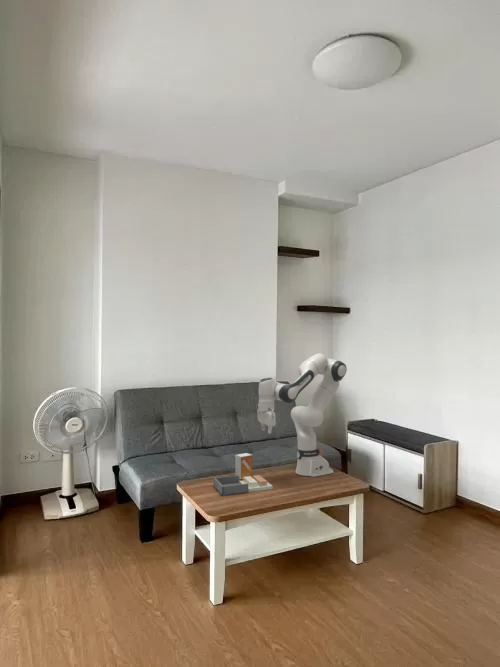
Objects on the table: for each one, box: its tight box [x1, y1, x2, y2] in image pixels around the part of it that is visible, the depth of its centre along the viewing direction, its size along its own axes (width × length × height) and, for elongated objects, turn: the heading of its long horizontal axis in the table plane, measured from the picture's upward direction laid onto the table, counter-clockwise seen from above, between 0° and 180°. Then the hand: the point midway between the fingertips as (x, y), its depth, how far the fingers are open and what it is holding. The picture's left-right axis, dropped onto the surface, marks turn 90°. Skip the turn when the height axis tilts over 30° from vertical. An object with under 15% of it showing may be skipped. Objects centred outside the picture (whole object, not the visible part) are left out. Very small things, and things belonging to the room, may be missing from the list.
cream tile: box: [242, 476, 258, 488], centre depth 253 cm, size 4×12×2 cm, turn 18°
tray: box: [213, 474, 249, 497], centre depth 249 cm, size 14×18×5 cm
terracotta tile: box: [252, 474, 268, 487], centre depth 254 cm, size 4×12×2 cm, turn 19°
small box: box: [234, 452, 253, 478], centre depth 272 cm, size 8×6×13 cm
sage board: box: [239, 480, 274, 493], centre depth 254 cm, size 14×15×2 cm
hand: (266, 432), depth 261 cm, fingers open, 8 cm apart
